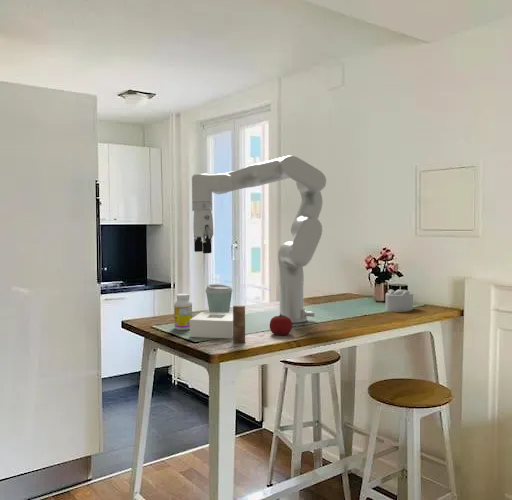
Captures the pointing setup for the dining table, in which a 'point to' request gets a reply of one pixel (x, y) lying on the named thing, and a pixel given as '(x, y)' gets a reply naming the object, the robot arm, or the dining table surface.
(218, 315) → the block
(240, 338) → the brown wooden block
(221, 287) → the disposable coffee cup
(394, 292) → the lumpy-topped squat cylinder
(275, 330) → the tomato
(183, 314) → the supplement bottle
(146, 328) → the dining table surface
